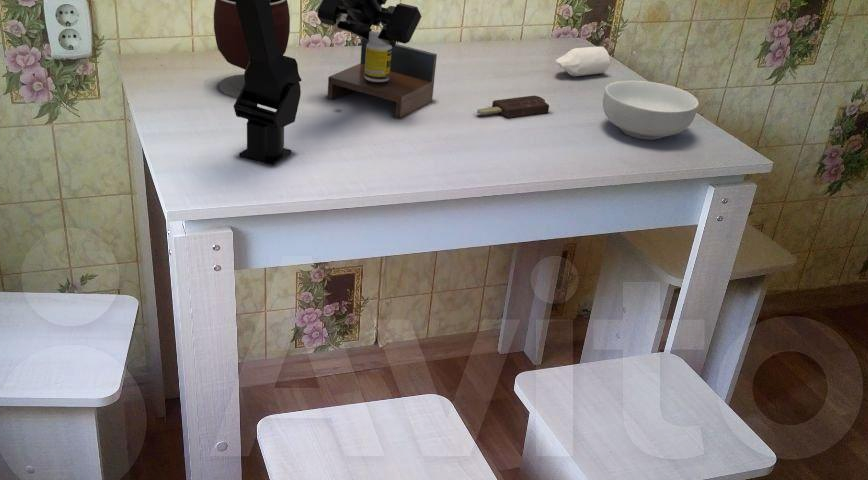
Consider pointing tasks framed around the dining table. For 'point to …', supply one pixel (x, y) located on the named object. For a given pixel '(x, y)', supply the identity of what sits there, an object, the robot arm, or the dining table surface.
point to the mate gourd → (234, 42)
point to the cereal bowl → (648, 108)
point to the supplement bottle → (377, 59)
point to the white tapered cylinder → (585, 61)
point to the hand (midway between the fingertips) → (383, 41)
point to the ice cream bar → (517, 106)
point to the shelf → (392, 79)
